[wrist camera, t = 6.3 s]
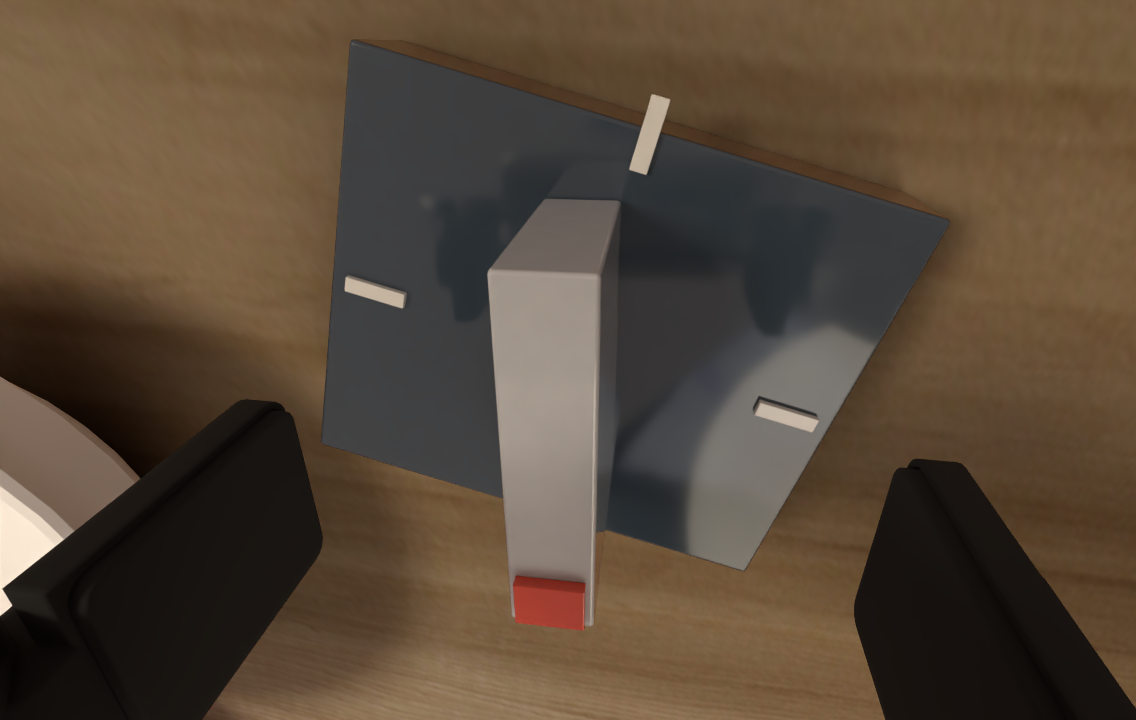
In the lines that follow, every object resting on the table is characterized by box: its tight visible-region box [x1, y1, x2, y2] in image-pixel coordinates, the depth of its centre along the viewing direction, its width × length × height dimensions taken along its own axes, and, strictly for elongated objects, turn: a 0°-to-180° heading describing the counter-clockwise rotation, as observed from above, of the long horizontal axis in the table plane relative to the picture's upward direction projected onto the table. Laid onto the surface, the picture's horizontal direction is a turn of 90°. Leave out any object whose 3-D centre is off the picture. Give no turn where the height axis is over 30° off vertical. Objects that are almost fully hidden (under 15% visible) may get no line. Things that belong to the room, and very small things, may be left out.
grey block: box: [487, 199, 621, 631], centre depth 12 cm, size 7×2×5 cm, turn 0°
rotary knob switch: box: [321, 39, 950, 571], centre depth 15 cm, size 12×11×3 cm
